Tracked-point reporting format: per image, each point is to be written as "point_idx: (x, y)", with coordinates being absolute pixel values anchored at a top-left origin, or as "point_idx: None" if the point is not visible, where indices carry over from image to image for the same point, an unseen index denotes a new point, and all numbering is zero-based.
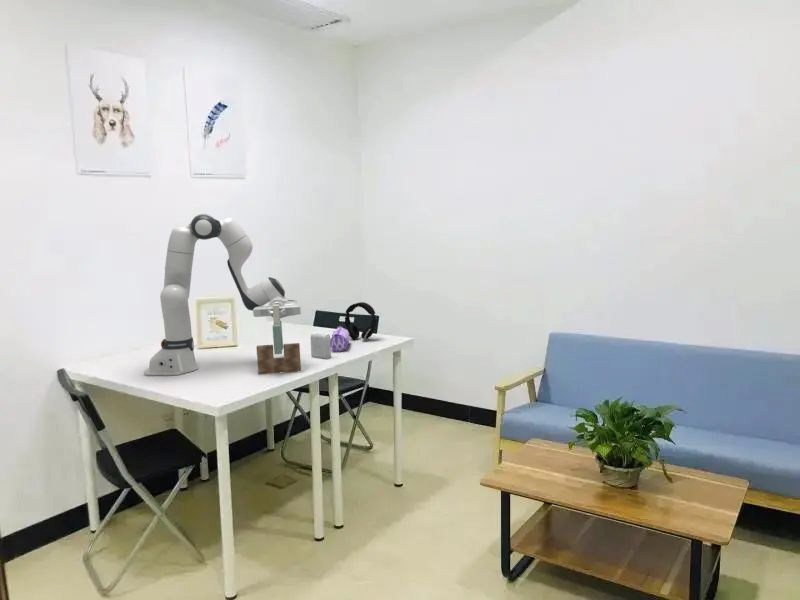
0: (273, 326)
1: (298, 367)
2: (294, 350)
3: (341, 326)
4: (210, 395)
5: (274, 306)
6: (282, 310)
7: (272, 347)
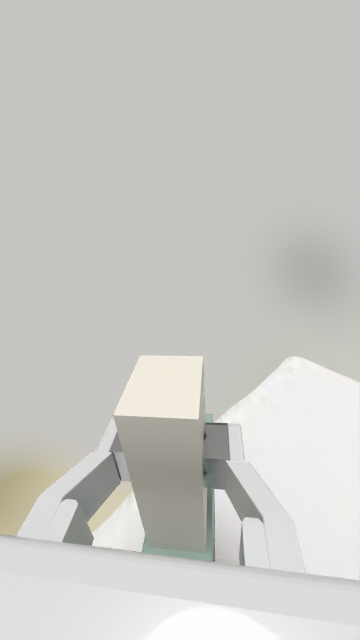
0: (207, 414)
1: None
2: None
3: None
4: (349, 404)
5: (182, 363)
6: (99, 446)
7: None
